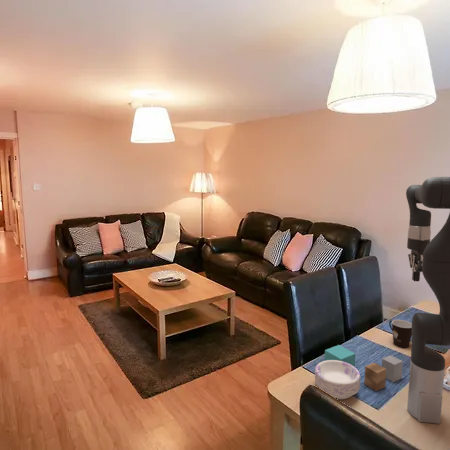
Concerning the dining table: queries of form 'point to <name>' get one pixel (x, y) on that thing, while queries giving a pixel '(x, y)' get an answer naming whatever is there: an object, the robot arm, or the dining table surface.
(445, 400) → the dining table surface
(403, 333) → the coffee mug
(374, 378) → the walnut block
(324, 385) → the paper bowls
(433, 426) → the dining table surface
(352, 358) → the teal block
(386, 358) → the slate-grey block
